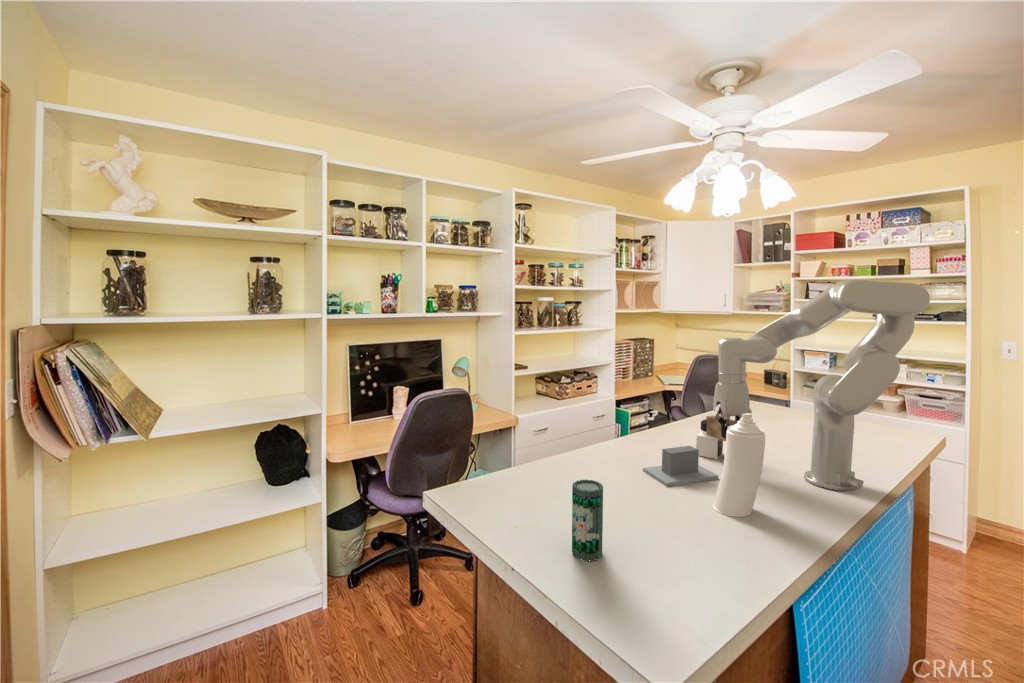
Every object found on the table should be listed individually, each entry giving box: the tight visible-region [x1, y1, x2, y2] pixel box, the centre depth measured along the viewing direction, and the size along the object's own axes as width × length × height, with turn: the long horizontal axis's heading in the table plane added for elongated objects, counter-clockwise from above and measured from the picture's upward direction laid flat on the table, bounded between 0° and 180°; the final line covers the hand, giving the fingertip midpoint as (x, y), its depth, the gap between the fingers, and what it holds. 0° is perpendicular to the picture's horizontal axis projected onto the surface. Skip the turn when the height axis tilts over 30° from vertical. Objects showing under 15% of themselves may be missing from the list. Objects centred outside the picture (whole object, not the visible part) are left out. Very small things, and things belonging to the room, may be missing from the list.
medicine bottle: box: [695, 418, 724, 460], centre depth 155 cm, size 7×7×12 cm
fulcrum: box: [642, 445, 719, 487], centre depth 138 cm, size 12×18×8 cm, turn 107°
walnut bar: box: [705, 415, 737, 442], centre depth 140 cm, size 18×4×6 cm, turn 17°
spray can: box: [712, 413, 766, 518], centre depth 115 cm, size 12×11×25 cm
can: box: [571, 479, 604, 562], centre depth 96 cm, size 6×6×15 cm
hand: (732, 436), depth 140 cm, fingers closed on walnut bar, 4 cm apart
